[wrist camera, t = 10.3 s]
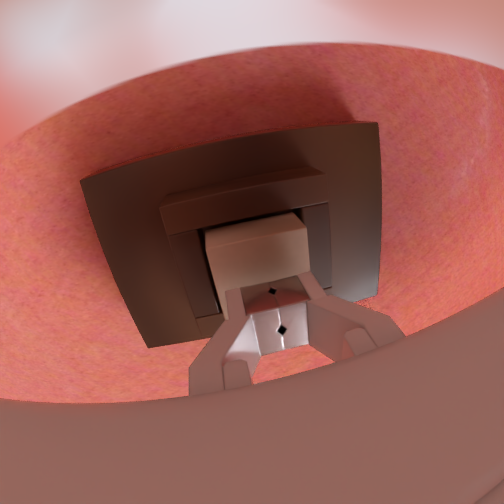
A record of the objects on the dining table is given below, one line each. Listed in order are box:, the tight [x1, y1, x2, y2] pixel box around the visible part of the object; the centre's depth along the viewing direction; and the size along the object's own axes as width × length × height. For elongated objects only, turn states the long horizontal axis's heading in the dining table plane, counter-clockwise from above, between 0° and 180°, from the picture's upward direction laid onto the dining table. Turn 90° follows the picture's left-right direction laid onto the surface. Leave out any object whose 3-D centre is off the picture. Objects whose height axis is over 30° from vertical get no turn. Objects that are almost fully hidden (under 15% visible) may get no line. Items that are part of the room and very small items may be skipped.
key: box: [205, 212, 310, 320], centre depth 11 cm, size 4×4×2 cm
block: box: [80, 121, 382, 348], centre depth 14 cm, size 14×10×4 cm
